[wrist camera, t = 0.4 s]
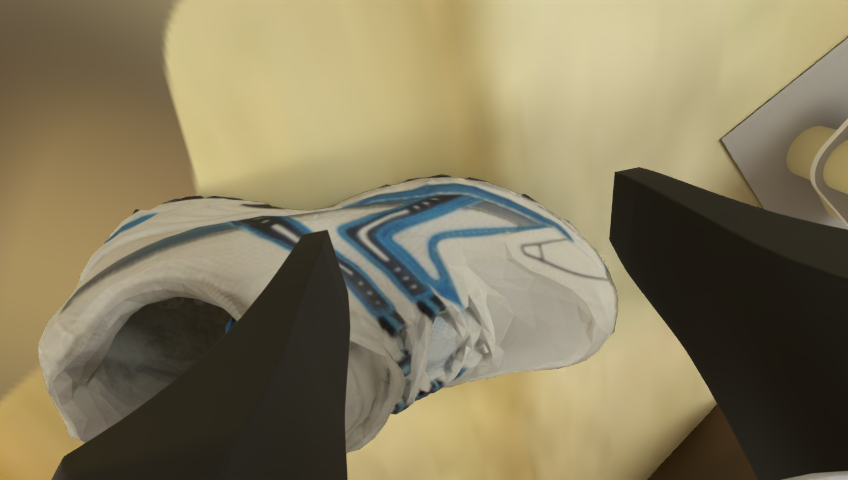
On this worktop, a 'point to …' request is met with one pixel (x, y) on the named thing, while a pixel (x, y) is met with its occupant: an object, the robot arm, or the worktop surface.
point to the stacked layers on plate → (801, 145)
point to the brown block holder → (707, 454)
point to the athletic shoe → (367, 289)
